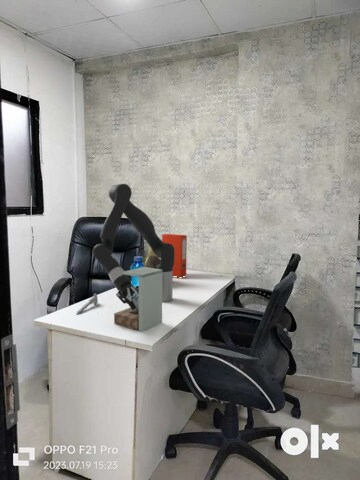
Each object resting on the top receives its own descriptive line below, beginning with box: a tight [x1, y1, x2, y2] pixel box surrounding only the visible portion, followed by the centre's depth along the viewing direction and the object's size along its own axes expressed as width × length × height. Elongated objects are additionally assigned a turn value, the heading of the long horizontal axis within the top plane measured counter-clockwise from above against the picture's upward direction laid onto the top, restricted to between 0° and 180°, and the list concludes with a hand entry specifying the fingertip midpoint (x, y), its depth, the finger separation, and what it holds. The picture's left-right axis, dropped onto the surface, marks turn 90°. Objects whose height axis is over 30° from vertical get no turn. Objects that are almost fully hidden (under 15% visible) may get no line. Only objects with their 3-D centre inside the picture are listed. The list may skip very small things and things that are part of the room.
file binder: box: [161, 233, 188, 277], centre depth 258 cm, size 8×17×32 cm, turn 57°
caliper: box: [75, 293, 99, 316], centre depth 178 cm, size 20×1×6 cm, turn 165°
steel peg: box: [131, 296, 139, 315], centre depth 158 cm, size 4×4×12 cm
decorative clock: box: [144, 246, 161, 269], centre depth 235 cm, size 28×13×30 cm, turn 159°
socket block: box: [113, 307, 139, 331], centre depth 158 cm, size 14×14×5 cm
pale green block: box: [123, 266, 163, 333], centre depth 155 cm, size 11×14×25 cm
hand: (138, 307), depth 157 cm, fingers open, 5 cm apart
